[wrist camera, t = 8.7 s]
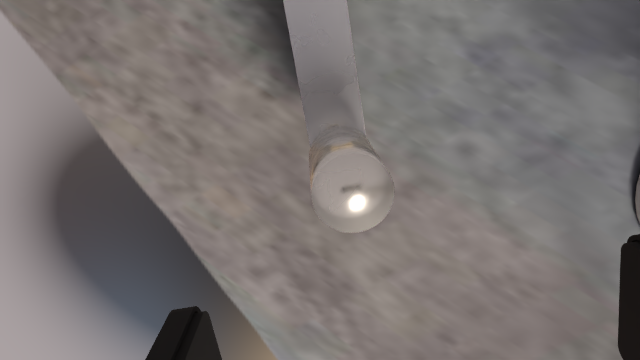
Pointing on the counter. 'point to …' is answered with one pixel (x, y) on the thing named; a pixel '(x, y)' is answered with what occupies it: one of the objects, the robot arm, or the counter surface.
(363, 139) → the shaft
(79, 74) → the counter surface
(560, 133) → the counter surface
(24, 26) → the counter surface
